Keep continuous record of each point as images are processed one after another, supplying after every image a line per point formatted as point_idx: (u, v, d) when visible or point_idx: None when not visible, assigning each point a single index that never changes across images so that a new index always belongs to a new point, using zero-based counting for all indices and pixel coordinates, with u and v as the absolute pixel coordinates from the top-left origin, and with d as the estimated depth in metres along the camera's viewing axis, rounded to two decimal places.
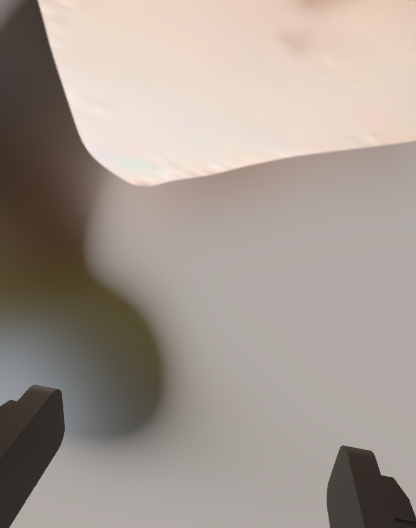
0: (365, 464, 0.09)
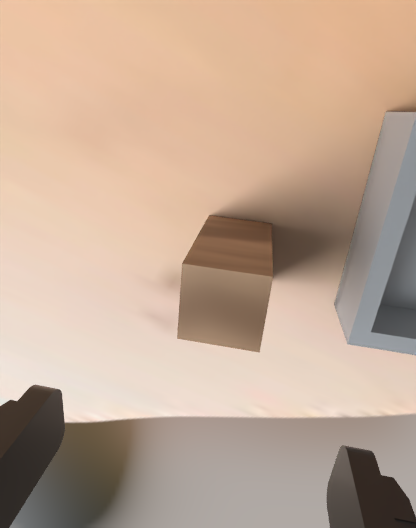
0: (365, 464, 0.09)
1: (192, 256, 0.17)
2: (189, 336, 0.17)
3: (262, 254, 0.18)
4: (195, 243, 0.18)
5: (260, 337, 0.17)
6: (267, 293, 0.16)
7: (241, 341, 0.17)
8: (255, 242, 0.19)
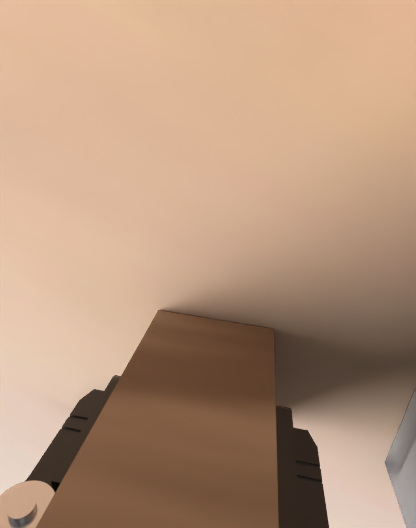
0: (281, 417, 0.10)
1: (58, 518, 0.06)
2: None
3: (252, 478, 0.07)
4: (93, 434, 0.08)
5: None
6: None
7: None
8: (237, 409, 0.09)
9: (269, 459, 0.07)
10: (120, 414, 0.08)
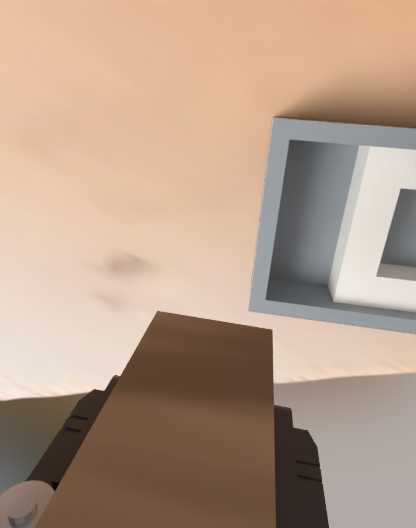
0: (281, 417, 0.10)
1: (57, 519, 0.06)
2: None
3: (250, 479, 0.07)
4: (91, 434, 0.08)
5: None
6: None
7: None
8: (236, 410, 0.09)
9: (267, 460, 0.08)
10: (119, 415, 0.08)
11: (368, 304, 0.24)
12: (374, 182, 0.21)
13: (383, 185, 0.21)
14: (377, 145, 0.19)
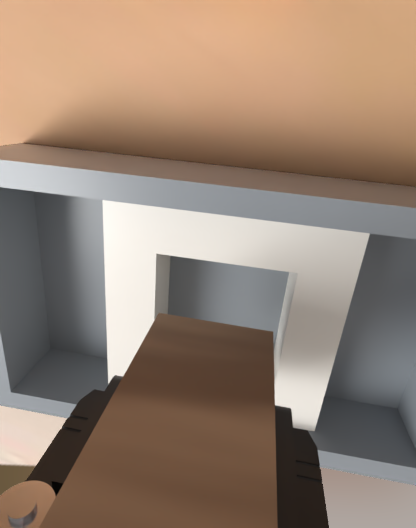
0: (281, 417, 0.10)
1: (60, 520, 0.06)
2: None
3: (252, 480, 0.07)
4: (94, 437, 0.08)
5: None
6: None
7: None
8: (237, 412, 0.09)
9: (268, 462, 0.08)
10: (121, 417, 0.08)
11: None
12: (120, 244, 0.15)
13: (133, 248, 0.15)
14: (93, 197, 0.13)
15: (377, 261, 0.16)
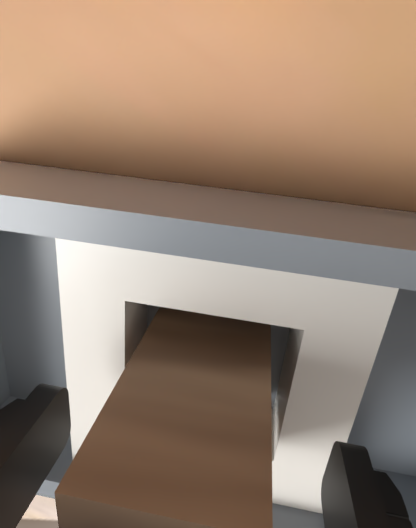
0: (358, 459, 0.09)
1: (92, 450, 0.07)
2: None
3: (251, 424, 0.08)
4: (115, 391, 0.09)
5: None
6: None
7: None
8: (238, 373, 0.10)
9: (265, 410, 0.09)
10: (137, 376, 0.10)
11: None
12: (79, 288, 0.11)
13: (95, 294, 0.11)
14: (37, 233, 0.10)
15: (402, 308, 0.13)
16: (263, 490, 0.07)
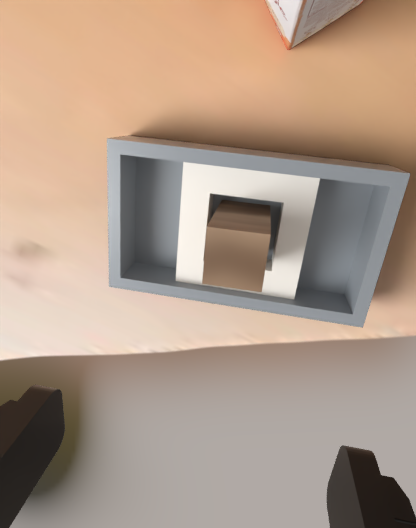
0: (365, 464, 0.09)
1: (213, 223, 0.23)
2: (210, 281, 0.24)
3: (263, 223, 0.24)
4: (214, 216, 0.25)
5: (262, 280, 0.23)
6: (267, 247, 0.23)
7: (248, 284, 0.24)
8: (257, 215, 0.26)
9: (268, 221, 0.25)
10: (220, 214, 0.26)
11: (201, 283, 0.30)
12: (190, 188, 0.27)
13: (197, 190, 0.27)
14: (181, 160, 0.26)
15: (328, 201, 0.29)
16: (268, 230, 0.23)
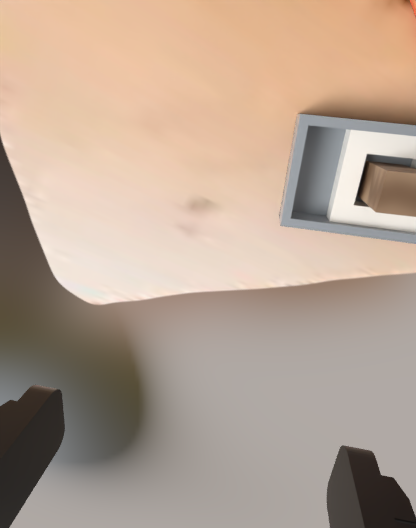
0: (365, 464, 0.09)
1: (387, 169, 0.34)
2: (382, 210, 0.35)
3: None
4: (380, 167, 0.36)
5: None
6: None
7: (410, 211, 0.35)
8: (406, 168, 0.37)
9: None
10: (382, 166, 0.37)
11: (349, 222, 0.41)
12: (353, 150, 0.38)
13: (357, 151, 0.38)
14: (354, 129, 0.37)
15: None
16: None
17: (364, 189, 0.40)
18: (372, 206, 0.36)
